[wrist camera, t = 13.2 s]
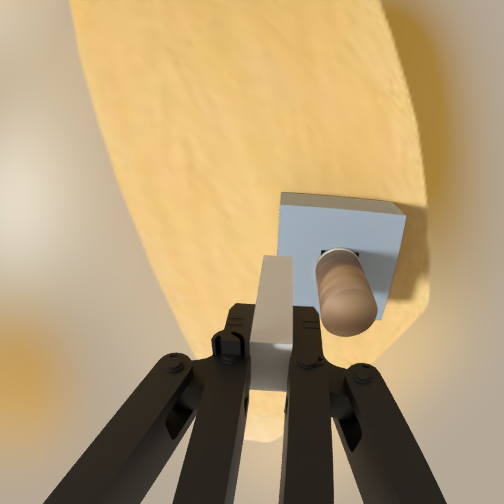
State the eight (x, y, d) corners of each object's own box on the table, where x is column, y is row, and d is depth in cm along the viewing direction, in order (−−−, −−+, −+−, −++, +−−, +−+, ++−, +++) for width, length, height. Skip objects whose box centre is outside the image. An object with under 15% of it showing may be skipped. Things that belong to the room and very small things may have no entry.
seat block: (281, 192, 43) (280, 204, 37) (392, 202, 41) (406, 215, 36) (274, 292, 49) (272, 315, 44) (372, 297, 48) (381, 320, 43)
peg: (314, 231, 43) (325, 287, 30) (356, 234, 43) (384, 290, 29) (309, 269, 46) (316, 336, 33) (350, 272, 46) (370, 337, 32)
